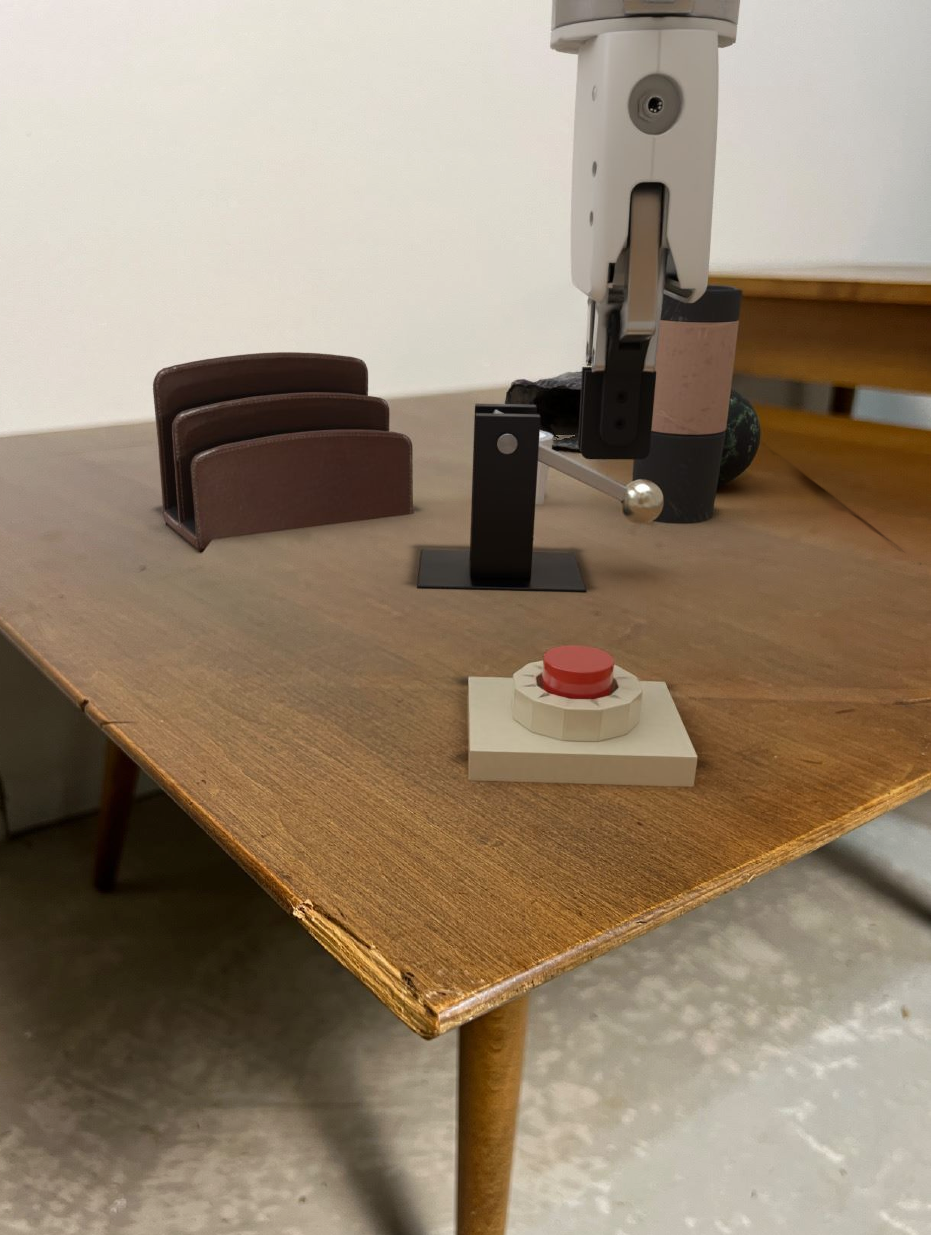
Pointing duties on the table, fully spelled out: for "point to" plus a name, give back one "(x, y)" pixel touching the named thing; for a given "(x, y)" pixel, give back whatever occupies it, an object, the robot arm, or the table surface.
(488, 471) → the bracket
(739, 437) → the decorative stone
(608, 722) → the button block
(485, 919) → the table surface
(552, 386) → the sculpture
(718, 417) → the travel mug
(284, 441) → the letter holder
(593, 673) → the button
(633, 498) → the lever
